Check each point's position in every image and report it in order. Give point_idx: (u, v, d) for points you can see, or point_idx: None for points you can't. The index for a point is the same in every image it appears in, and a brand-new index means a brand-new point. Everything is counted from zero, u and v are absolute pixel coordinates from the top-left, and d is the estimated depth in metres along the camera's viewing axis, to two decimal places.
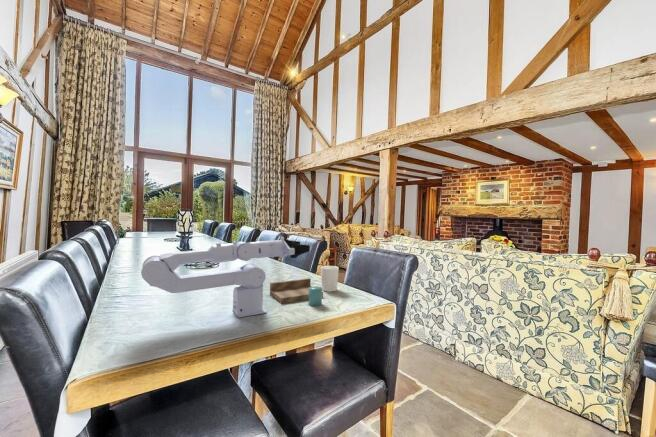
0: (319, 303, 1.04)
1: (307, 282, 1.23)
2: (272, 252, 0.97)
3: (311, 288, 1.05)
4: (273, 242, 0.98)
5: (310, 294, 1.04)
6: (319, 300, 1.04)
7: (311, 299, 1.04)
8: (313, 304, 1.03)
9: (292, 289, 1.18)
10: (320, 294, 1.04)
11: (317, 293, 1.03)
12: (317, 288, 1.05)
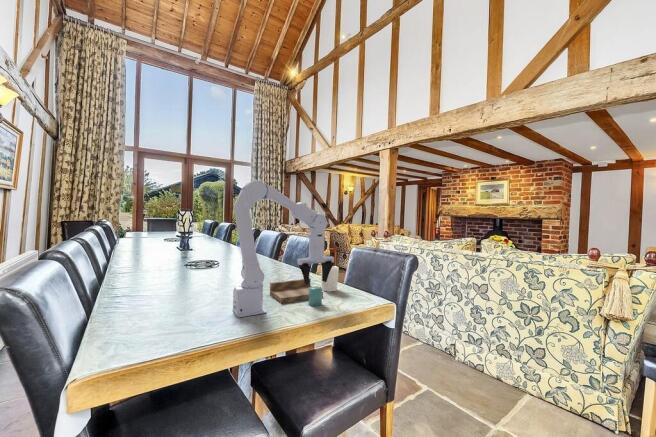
0: (319, 303, 1.04)
1: None
2: (309, 246, 1.04)
3: (311, 288, 1.05)
4: (316, 249, 1.02)
5: (310, 294, 1.04)
6: (319, 300, 1.04)
7: (311, 299, 1.04)
8: (313, 304, 1.03)
9: (292, 289, 1.18)
10: (320, 294, 1.04)
11: (317, 293, 1.03)
12: (317, 288, 1.05)
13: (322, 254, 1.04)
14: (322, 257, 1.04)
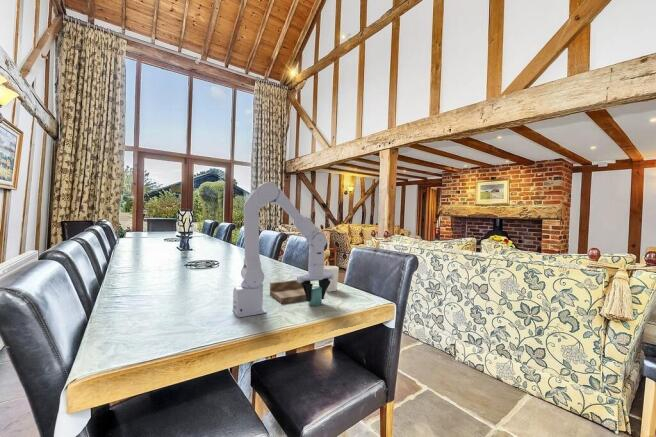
0: (319, 303, 1.04)
1: None
2: (308, 264, 1.05)
3: None
4: (316, 267, 1.03)
5: None
6: (319, 300, 1.04)
7: (311, 299, 1.04)
8: (313, 304, 1.03)
9: (292, 289, 1.18)
10: (320, 294, 1.04)
11: (317, 293, 1.03)
12: (317, 288, 1.05)
13: (321, 272, 1.04)
14: (321, 275, 1.04)
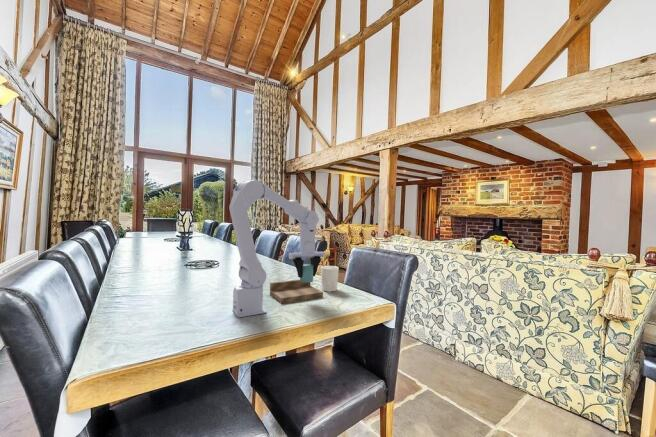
0: (310, 279, 1.08)
1: (307, 282, 1.23)
2: (300, 241, 1.08)
3: (303, 265, 1.09)
4: (307, 244, 1.06)
5: (302, 271, 1.07)
6: (310, 276, 1.07)
7: (303, 275, 1.07)
8: (304, 280, 1.07)
9: (292, 289, 1.18)
10: (311, 271, 1.08)
11: (308, 270, 1.07)
12: (308, 265, 1.09)
13: (312, 249, 1.07)
14: (312, 252, 1.07)
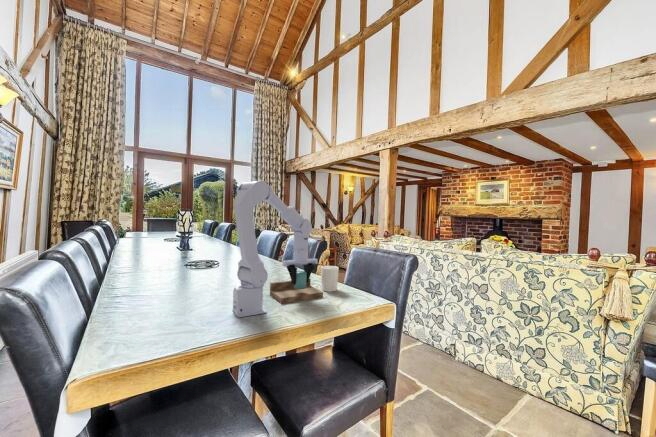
0: (304, 286, 1.11)
1: None
2: None
3: (296, 272, 1.12)
4: (300, 252, 1.09)
5: None
6: (304, 283, 1.10)
7: (296, 282, 1.10)
8: (298, 287, 1.10)
9: (292, 289, 1.18)
10: (305, 278, 1.11)
11: (302, 277, 1.10)
12: (302, 272, 1.12)
13: (306, 256, 1.10)
14: (306, 259, 1.10)
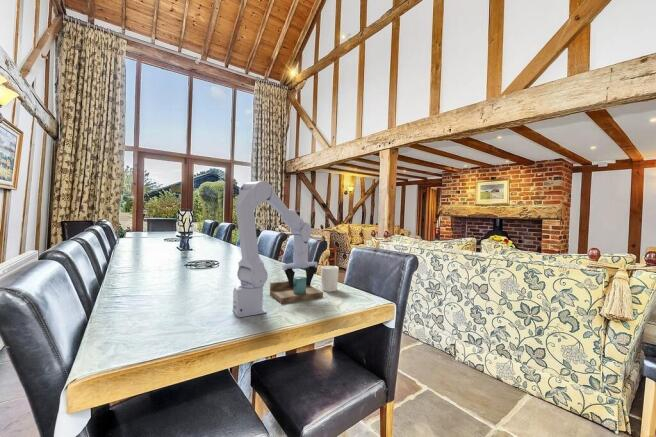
0: (303, 292, 1.11)
1: None
2: None
3: (296, 278, 1.12)
4: (300, 255, 1.09)
5: (295, 283, 1.10)
6: (303, 289, 1.10)
7: (296, 288, 1.10)
8: (298, 293, 1.10)
9: (292, 289, 1.18)
10: (304, 283, 1.11)
11: (301, 282, 1.10)
12: (301, 278, 1.12)
13: (306, 260, 1.10)
14: (306, 263, 1.10)
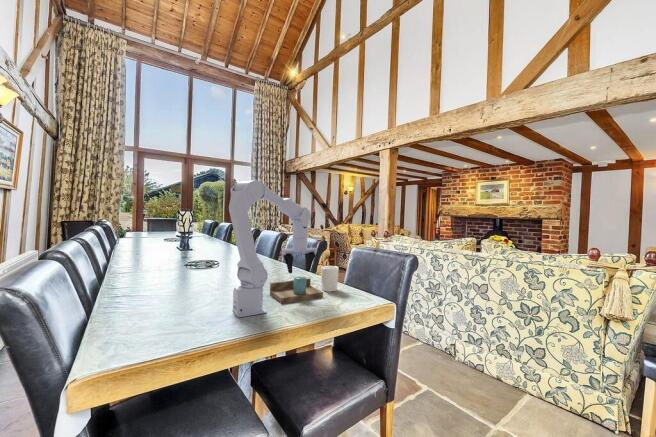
0: (303, 292, 1.11)
1: (307, 282, 1.23)
2: None
3: (296, 278, 1.12)
4: (299, 240, 1.09)
5: (295, 283, 1.10)
6: (303, 289, 1.10)
7: (296, 288, 1.10)
8: (298, 293, 1.10)
9: (292, 289, 1.18)
10: (304, 283, 1.11)
11: (301, 282, 1.10)
12: (301, 278, 1.12)
13: (305, 245, 1.10)
14: (305, 248, 1.10)
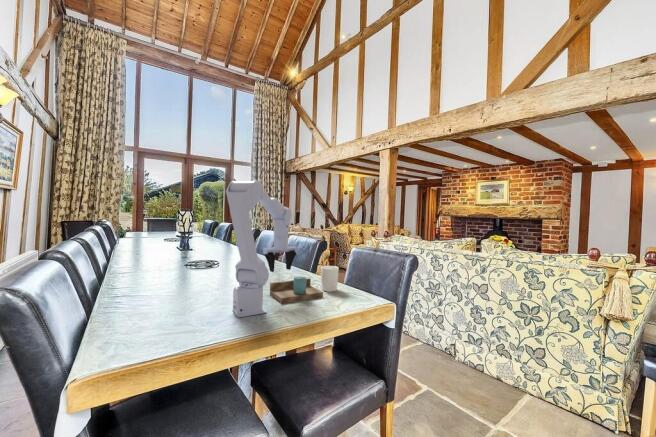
0: (303, 292, 1.11)
1: (307, 282, 1.23)
2: (274, 237, 1.12)
3: (296, 278, 1.12)
4: (281, 239, 1.11)
5: (295, 283, 1.10)
6: (303, 289, 1.10)
7: (296, 288, 1.10)
8: (298, 293, 1.10)
9: (292, 289, 1.18)
10: (304, 283, 1.11)
11: (301, 282, 1.10)
12: (301, 278, 1.12)
13: (286, 244, 1.13)
14: (286, 246, 1.13)
